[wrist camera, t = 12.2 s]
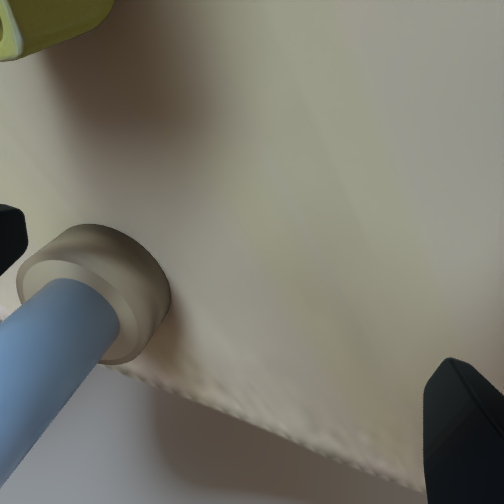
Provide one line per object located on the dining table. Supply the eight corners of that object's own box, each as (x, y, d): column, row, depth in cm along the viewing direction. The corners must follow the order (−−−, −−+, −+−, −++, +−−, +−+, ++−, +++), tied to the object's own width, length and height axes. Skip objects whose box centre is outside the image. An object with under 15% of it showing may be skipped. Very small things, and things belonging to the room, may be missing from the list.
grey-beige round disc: (176, 250, 25) (149, 284, 22) (165, 345, 30) (142, 382, 27) (47, 206, 26) (5, 232, 23) (58, 305, 31) (25, 337, 28)
